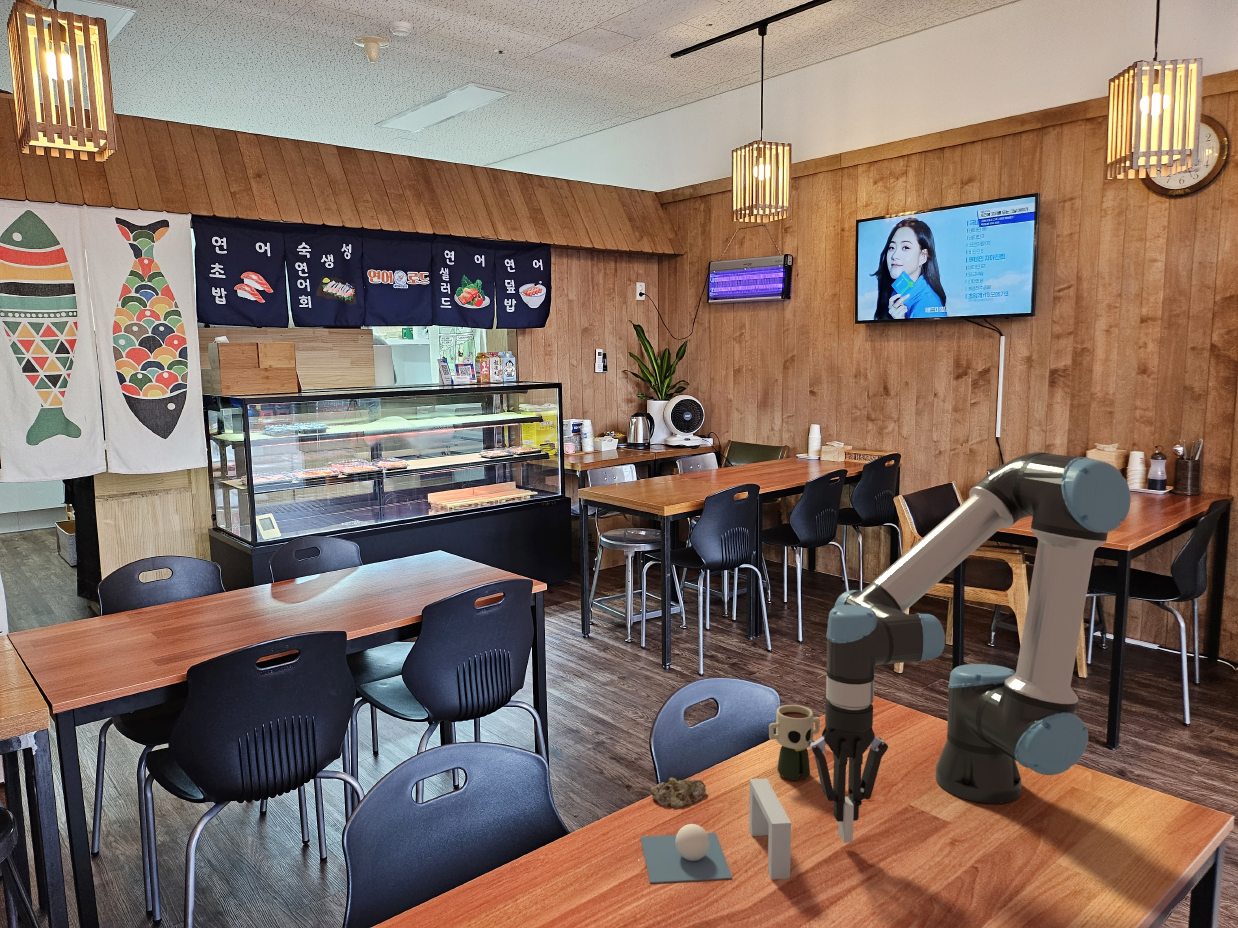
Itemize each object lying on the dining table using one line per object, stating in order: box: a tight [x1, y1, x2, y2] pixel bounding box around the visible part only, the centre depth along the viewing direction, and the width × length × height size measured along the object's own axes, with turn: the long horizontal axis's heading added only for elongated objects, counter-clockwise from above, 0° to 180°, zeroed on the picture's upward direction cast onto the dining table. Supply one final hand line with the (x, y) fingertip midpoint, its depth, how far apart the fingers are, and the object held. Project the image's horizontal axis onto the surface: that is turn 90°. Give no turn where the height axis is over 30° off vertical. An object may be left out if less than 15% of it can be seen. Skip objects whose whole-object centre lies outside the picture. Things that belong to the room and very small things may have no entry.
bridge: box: [748, 778, 792, 880], centre depth 140 cm, size 3×14×9 cm, turn 5°
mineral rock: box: [650, 777, 707, 809], centre depth 159 cm, size 11×4×8 cm
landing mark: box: [639, 832, 733, 884], centre depth 139 cm, size 13×13×1 cm
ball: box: [676, 823, 709, 861], centre depth 139 cm, size 6×6×6 cm
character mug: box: [768, 704, 821, 781], centre depth 166 cm, size 11×7×13 cm, turn 107°
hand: (845, 837), depth 141 cm, fingers closed
